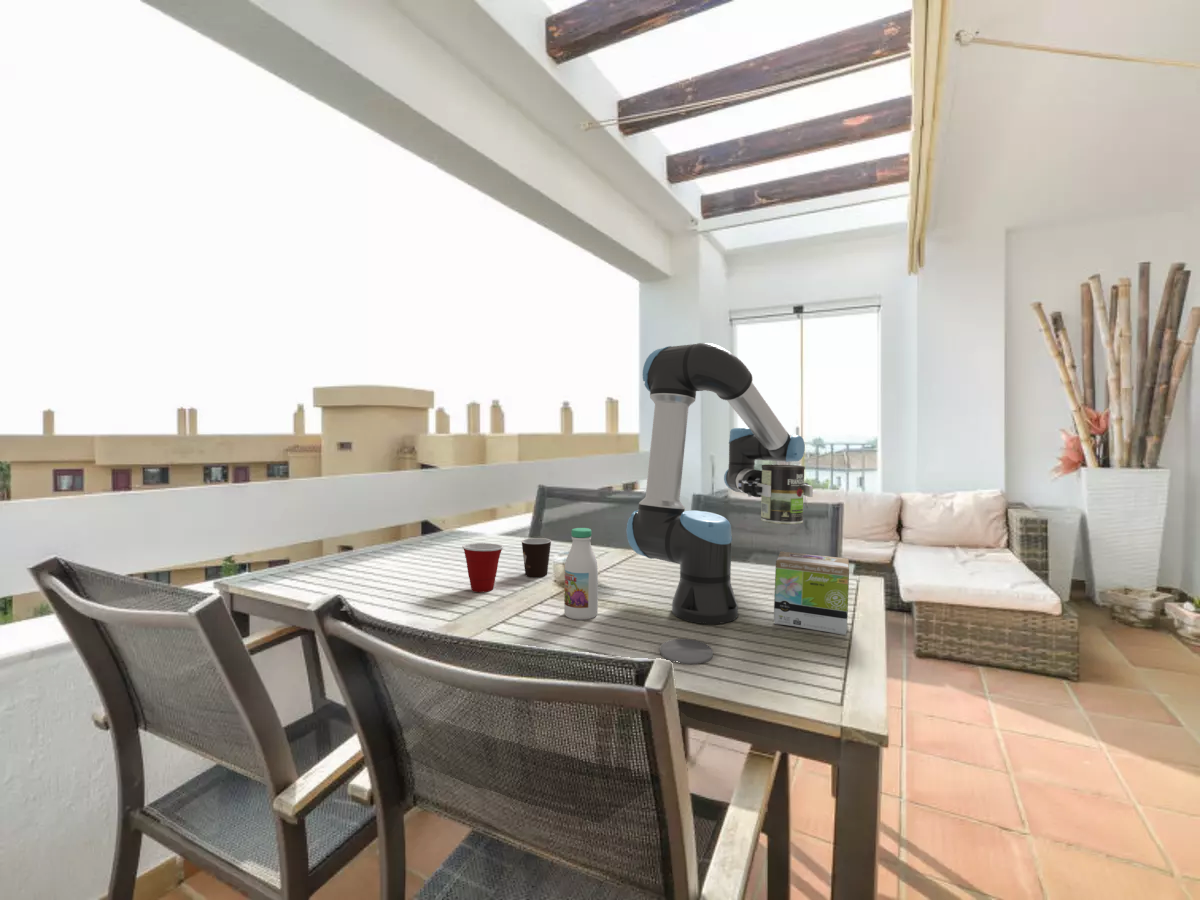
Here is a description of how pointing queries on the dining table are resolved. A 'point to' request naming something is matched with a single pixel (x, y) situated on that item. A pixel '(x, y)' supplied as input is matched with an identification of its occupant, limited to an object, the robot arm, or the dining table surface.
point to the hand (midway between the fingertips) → (790, 491)
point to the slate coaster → (686, 651)
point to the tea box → (812, 592)
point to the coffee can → (783, 494)
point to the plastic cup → (482, 565)
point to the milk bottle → (581, 577)
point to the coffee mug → (536, 556)
